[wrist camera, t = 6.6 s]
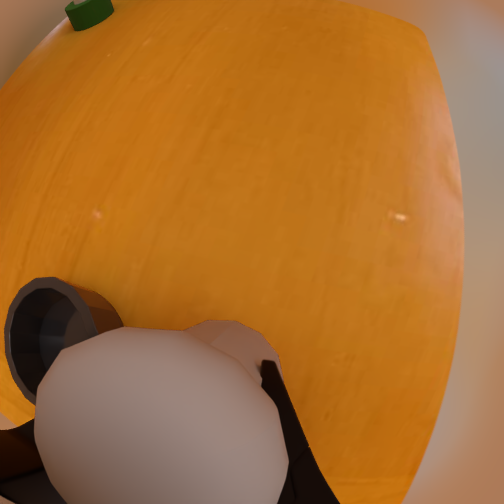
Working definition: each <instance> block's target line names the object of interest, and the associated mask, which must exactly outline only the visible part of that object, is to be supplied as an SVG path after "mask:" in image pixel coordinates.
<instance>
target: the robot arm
mask: <svg viewBox="0 0 504 504" xmlns="http://www.w3.org/2000/svg"><path fill="white" fill-rule="evenodd" d="M260 376H261V378H262V383H261V387H262V389H263V390H264V391H265V392H266V393H267V394H268V396H269V397H270V398H271V399H272V400H273V402H274V403H275V405H276V407H277V409H278V413H279V418H280V423H281V427H282V432H283V436H284V441H285V446H286V450H287V455H288V460H289V464H288V469H287V474H286V479H285V482H284V485H283V488H282V491H281V494H280V497H279V499H278V502H277V504H340V503H339V501H338V500H337V498H336V497H335V495H334V493H333V492H332V490H331V488H330V487H329V485H328V484H327V482H326V480H325V478H324V477H323V475H322V473H321V471H320V469H319V467H318V465H317V463H316V461H315V458H314V456H313V454H312V451H311V449H310V447H308V446H309V444H308V442H307V439H306V437H305V435H304V432H303V430H302V427H301V425H300V422H299V420H298V417H297V415H296V412H295V410H294V407H293V405H292V402H291V400H290V397H289V395H288V392H287V390H286V387H285V385H284V382H283V380H282V377H281V375H280V372H279V370H278V367H277V365H276V362H275V361H274V360H267V359H263V360H262V362H261V368H260ZM34 421H35V418H34V419H32V420H30V421H29V422H27V423H25V424H23V425H21V426H19V427H16V428H13V429H9V430H0V504H67V503H66V501H65V500H64V499H63V498H62V497H61V495H60V494H59V493H58V491H57V490H56V489H55V487H54V486H53V485H52V483H51V482H50V480H49V477H48V475H47V472H46V470H45V467H44V465H43V462H42V459H41V457H40V454H39V451H38V448H37V445H36V442H35V436H34Z"/></svg>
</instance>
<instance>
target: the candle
mask: <svg viewBox="0 0 504 504" xmlns="http://www.w3.org/2000/svg"><path fill="white" fill-rule="evenodd" d="M65 11H66V13H67V15H68V18H69V20H70V22H71V24H72V26H73V28H74V30H75V31H81V30H85V29H87V28H90V27H92V26H94V25H96V24H98V23H100V22H101V21H103V20H105V19H106V18H107V17H109V16H110V15H111V14H112V13H113V11H114V8H113V6H112V3H111V0H73V2H71V3H70V4H69V5H68V6H67V7H66V8H65Z"/></svg>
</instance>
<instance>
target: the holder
mask: <svg viewBox="0 0 504 504" xmlns="http://www.w3.org/2000/svg"><path fill="white" fill-rule="evenodd" d="M121 327H124V326H123V323H122V321H121V319H120V317H119V315H118V314H117V312H116V310H115V309H114V308H113V307H112V305H111V304H110V303H109V302H108V301H107V300H106V299H105V298H103V297H102V296H101V295H99V294H98V293H96V292H94V291H91V290H88V289H86V288H84V287H82V286H79V285H76V284H73V283H70V282H68V281H65V280H62V279H59V278H57V277H43V278H35V279H33V280H32V281H31V282H29V283H28V284H26V285H25V286H23V287H22V288H21V289H20V290H19V292H18V293H17V295H16V296H15V298H14V300H13V301H12V303H11V305H10V307H9V310H8V314H7V319H6V323H5V328H4V339H5V354H6V358H7V362H8V365H9V368H10V371H11V374H12V377H13V379H14V381H15V383H16V384H17V386H18V387H19V389H20V390H21V392H22V393H23V395H24V396H25V398H26V399H28V400H29V401H30V402H31V403H33V404H34V405H35V406H36V398H37V389H38V386H39V384H40V383H41V381H42V379H43V378H44V376H45V375H46V373H47V371H48V370H49V368H50V367H51V365H52V364H53V362H54V361H55V359H56V358H57V356H58V355H59V353H60V352H61V350H63V349H66V348H68V347H71V346H73V345H75V344H78V343H80V342H83V341H85V340H88V339H90V338H93V337H95V336H97V335H100V334H102V333H105V332H108V331H111V330H114V329H118V328H121Z"/></svg>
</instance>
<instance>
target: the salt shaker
mask: <svg viewBox="0 0 504 504" xmlns="http://www.w3.org/2000/svg"><path fill="white" fill-rule="evenodd" d="M263 359H267V360H274V361H275V362H276V365H277V367H278V370H279V372H280V375H281V377H282V380H283V375H282V371H281V366H280V361H279V356H278V354H277V353H276V352H275V351H274V349H273V348H272V347H271V346H270V344H269V343H268V342H267V341H266V340H265V338H264V337H263V336H262V335H261V333H259V332H257V331H255V330H253V329H251V328H249V327H247V326H245V325H243V324H241V323H239V322H237V321H220V320H207V321H204V322H202V323H200V324H197V325H195V326H193V327H190V328H188V329H186V330H183V331H178V330H161V329H147V328H134V327H121V328H118V329H114V330H111V331H108V332H105V333H102V334H100V335H97V336H95V337H93V338H90V339H88V340H85V341H83V342H80V343H78V344H75V345H73V346H71V347H68V348H66V349H63V350H61V352H60V353H59V355H58V356H57V358H56V359H55V361H54V362H53V364H52V365H51V367H50V368H49V370H48V371H47V373H46V375H45V376H44V378H43V379H42V381H41V383H40V384H39V386H38V389H37V398H36V408H35V421H34V436H35V442H36V445H37V448H38V451H39V454H40V457H41V459H42V462H43V465H44V467H45V470H46V472H47V475H48V477H49V480H50V482H51V483H52V485H53V486H54V487H55V489H56V490H57V491H58V493H59V494H60V495H61V497H62V498H63V499H64V500H65V501H66V503H67V504H277V502H278V499H279V497H280V494H281V491H282V488H283V485H284V482H285V479H286V474H287V469H288V464H289V460H288V455H287V450H286V446H285V441H284V436H283V432H282V427H281V423H280V418H279V413H278V409H277V407H276V405H275V403H274V402H273V400H272V399H271V398H270V397H269V396H268V394H267V393H266V392H265V391H264V390H263V389H262V387H261V383H262V378H261V376H260V368H261V362H262V360H263ZM283 382H284V380H283Z"/></svg>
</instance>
